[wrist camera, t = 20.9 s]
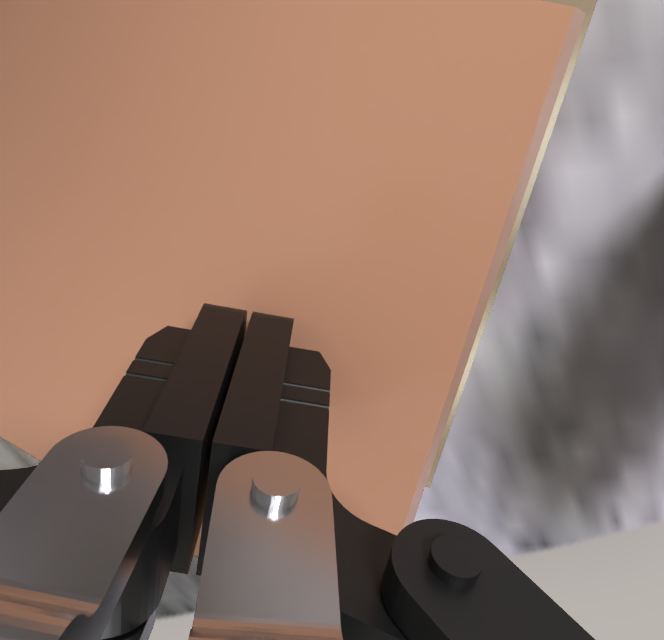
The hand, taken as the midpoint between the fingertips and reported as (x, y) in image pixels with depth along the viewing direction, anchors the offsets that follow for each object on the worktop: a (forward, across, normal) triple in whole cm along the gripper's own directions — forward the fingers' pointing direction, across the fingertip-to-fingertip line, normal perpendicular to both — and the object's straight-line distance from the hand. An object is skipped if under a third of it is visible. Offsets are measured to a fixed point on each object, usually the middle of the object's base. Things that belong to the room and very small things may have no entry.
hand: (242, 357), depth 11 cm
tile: (+1, +2, 0) cm, 3 cm away
